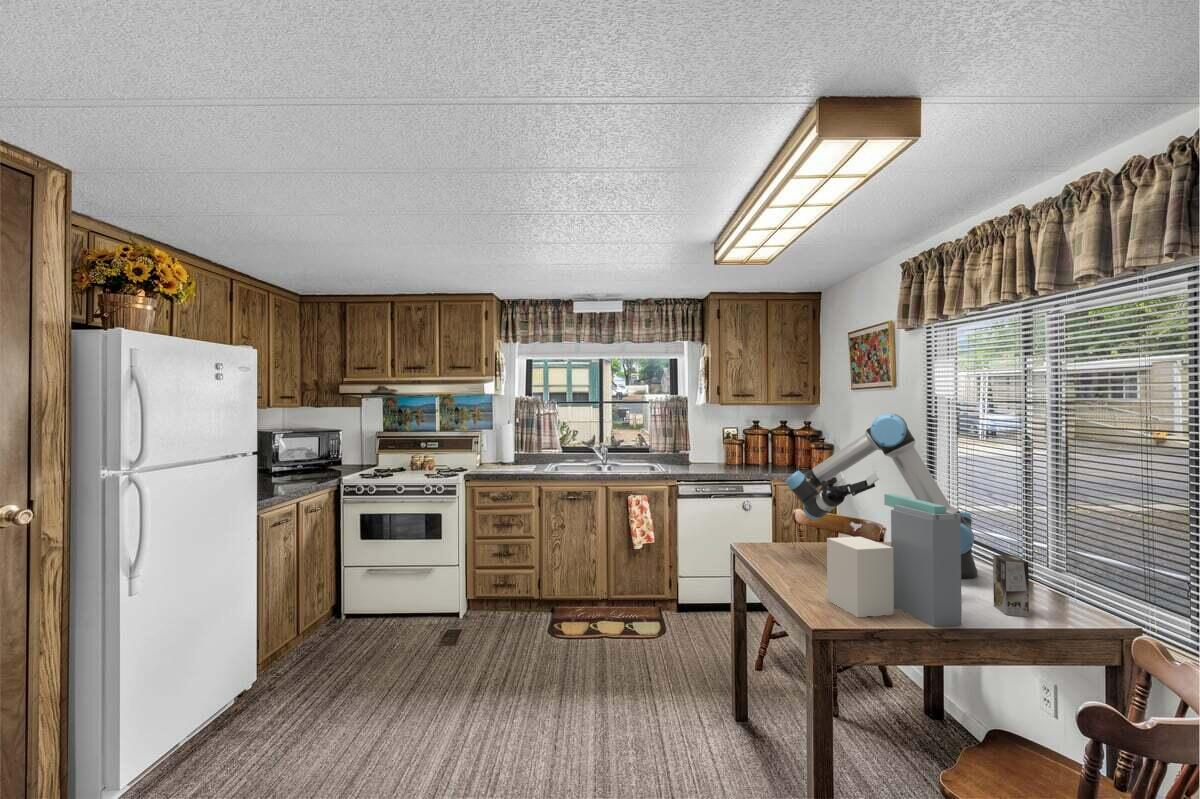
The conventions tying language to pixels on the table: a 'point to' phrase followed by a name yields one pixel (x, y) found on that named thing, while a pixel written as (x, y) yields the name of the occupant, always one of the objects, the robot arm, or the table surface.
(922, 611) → the tall grey bin
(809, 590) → the table surface
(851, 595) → the beige tall block
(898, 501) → the lid bar
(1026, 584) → the coffee box
